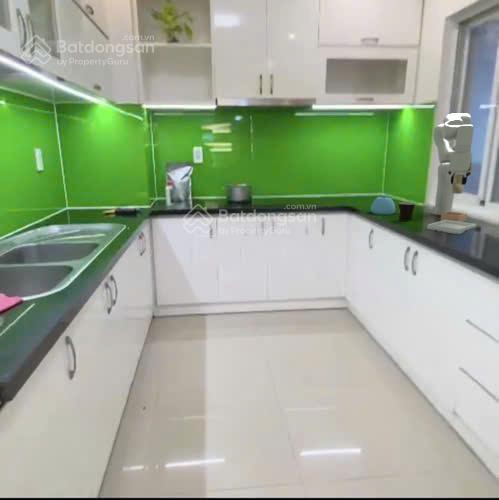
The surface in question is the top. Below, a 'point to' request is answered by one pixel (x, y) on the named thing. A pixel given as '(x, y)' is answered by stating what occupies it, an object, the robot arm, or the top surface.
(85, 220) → the top surface
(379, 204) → the sugar bowl
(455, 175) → the beige vase
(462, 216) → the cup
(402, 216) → the coffee mug
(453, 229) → the tray
